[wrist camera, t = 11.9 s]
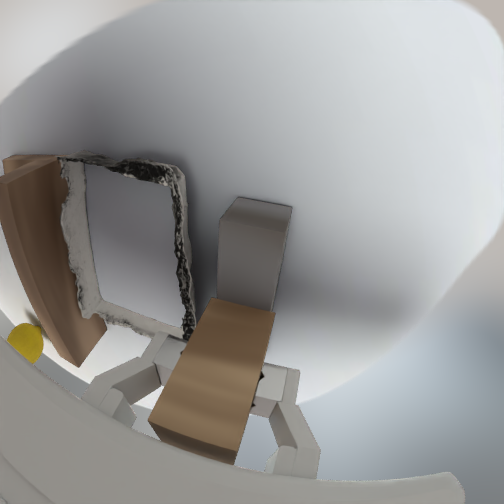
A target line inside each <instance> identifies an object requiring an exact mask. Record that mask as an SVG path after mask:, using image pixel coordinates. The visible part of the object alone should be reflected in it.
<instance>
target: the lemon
mask: <svg viewBox="0 0 504 504" xmlns="http://www.w3.org/2000/svg"><path fill="white" fill-rule="evenodd" d="M7 342H8V343H10V344H11V345H12V346H13V347H14V348H15V349H16V350H17V351H18V352H19V353H20V354H22V355H23V356H24V357H25V358H26V359H27V360H28V361H30V362H31V363H32V364H33V363H35V362H36V361H37V360H38V358H39V357H40V355H41V353H42V350H43V338H42V335H41V328H40V327H39V326H33V325H32V324H29V323H23V324H19V325H18V326H16V327H15V328H14V329H13V330H12V332H11V333H10V334H9V336H8V339H7Z"/></svg>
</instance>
